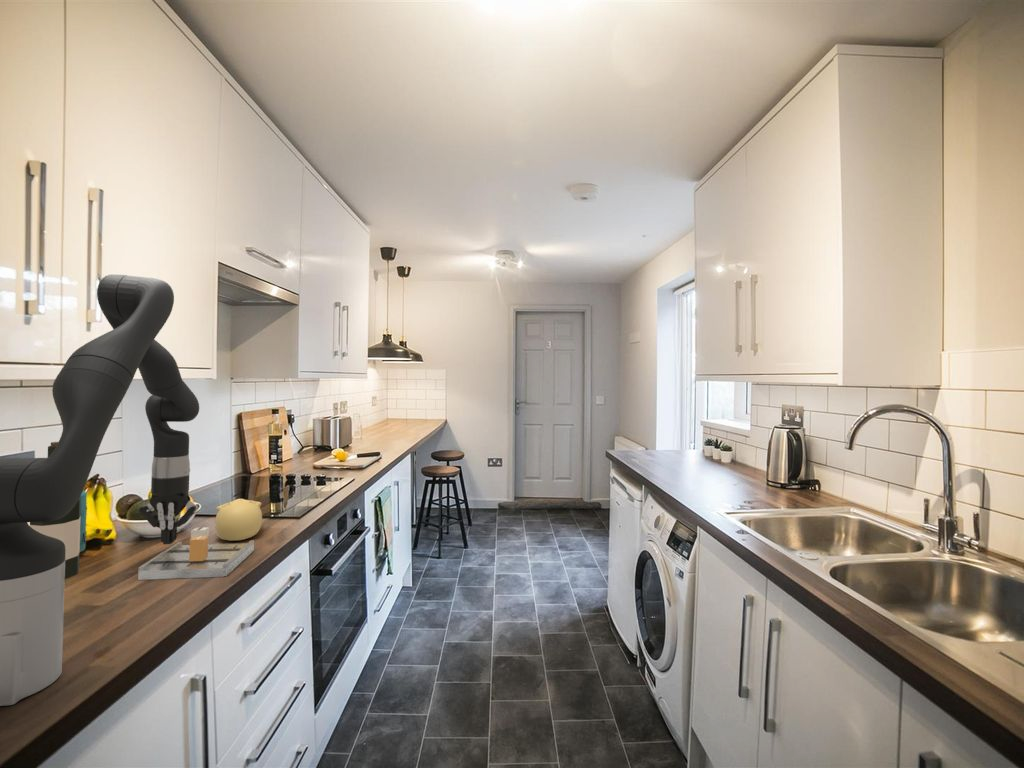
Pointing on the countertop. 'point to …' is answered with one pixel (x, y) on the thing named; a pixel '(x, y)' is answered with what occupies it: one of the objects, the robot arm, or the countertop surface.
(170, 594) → the countertop surface
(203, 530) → the fader
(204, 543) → the block
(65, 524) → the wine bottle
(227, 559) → the grey slider board
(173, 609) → the countertop surface
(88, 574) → the countertop surface
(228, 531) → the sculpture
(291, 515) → the countertop surface
